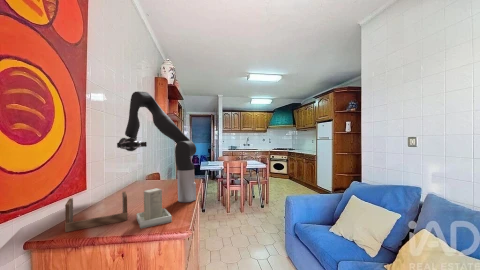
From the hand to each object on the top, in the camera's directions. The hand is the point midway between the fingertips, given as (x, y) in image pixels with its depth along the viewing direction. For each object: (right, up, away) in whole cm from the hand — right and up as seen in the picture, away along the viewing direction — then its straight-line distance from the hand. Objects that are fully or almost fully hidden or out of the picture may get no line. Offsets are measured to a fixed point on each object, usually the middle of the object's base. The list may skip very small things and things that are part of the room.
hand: (133, 144), depth 112 cm
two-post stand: (-6, -32, -19) cm, 37 cm away
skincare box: (+18, -31, -20) cm, 41 cm away
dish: (+18, -31, -20) cm, 41 cm away
